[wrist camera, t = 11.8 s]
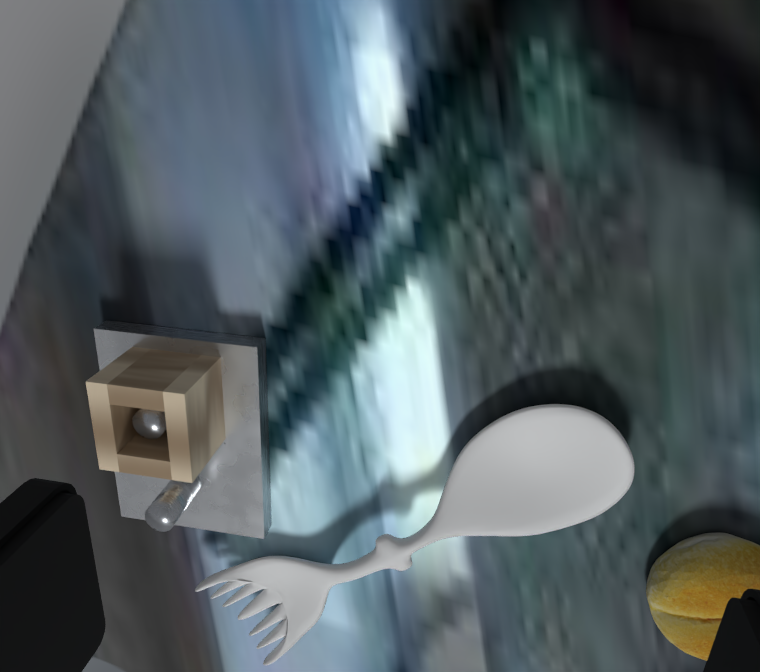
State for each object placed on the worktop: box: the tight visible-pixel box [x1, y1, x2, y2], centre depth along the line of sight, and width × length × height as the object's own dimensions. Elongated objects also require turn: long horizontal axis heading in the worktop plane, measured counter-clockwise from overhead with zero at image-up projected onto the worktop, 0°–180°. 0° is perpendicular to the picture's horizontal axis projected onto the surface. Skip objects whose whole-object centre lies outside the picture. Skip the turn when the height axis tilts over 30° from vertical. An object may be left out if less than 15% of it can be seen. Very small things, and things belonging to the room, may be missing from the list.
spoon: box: [195, 404, 634, 665], centre depth 43 cm, size 9×32×4 cm, turn 126°
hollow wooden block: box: [86, 347, 226, 483], centre depth 39 cm, size 6×6×5 cm
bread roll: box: [646, 533, 760, 660], centre depth 40 cm, size 8×9×4 cm
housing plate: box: [94, 320, 271, 539], centre depth 41 cm, size 15×11×6 cm
